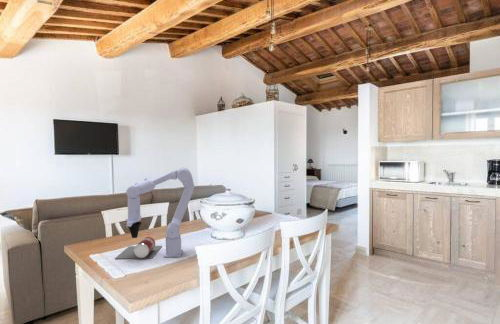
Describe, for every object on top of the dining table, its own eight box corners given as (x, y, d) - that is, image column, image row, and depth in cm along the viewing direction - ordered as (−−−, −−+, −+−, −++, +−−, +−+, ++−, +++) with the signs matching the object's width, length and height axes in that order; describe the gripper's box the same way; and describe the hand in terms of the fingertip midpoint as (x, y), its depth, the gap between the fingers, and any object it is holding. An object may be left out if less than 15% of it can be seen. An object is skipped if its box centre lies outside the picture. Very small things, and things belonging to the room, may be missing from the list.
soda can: (151, 250, 141) (158, 242, 153) (140, 240, 141) (147, 233, 153) (141, 261, 141) (149, 253, 153) (130, 252, 141) (138, 244, 153)
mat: (128, 247, 160) (128, 246, 160) (162, 246, 160) (162, 245, 160) (114, 259, 142) (114, 258, 142) (152, 258, 142) (152, 257, 142)
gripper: (131, 207, 150) (131, 233, 151) (119, 213, 136) (120, 242, 136) (145, 207, 150) (145, 233, 151) (135, 213, 136) (135, 242, 136)
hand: (134, 237), depth 144 cm, fingers closed
